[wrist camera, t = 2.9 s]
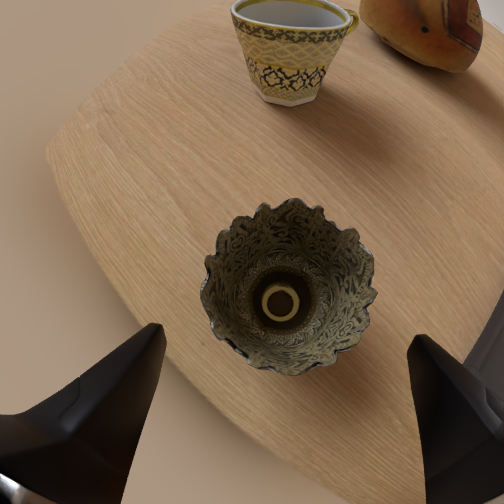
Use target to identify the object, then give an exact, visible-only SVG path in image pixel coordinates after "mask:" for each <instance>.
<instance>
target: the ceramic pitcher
mask: <svg viewBox="0 0 504 504" xmlns="http://www.w3.org/2000/svg"><path fill="white" fill-rule="evenodd" d="M359 13H360V18H361V20H362V21H363V22H364V23H365V24H366V25H367V26H368V27H369V28H370V29H371V30H373V31H374V32H375V33H377V34H378V35H379V37H380V38H381V40H382V41H383V42H385V43H387V44H388V45H389V46H391V47H393V48H394V49H396V50H397V51H399V52H400V53H402V54H404V55H405V56H407V57H409V58H411V59H413V60H414V61H416V62H418V63H421V64H423V65H426V66H431V67H437V68H440V69H443V70H446V71H449V72H453V73H459V72H463V71H465V70H466V69H467V68H469V66H470V65H471V64H472V63H473V61H474V60H475V58H476V56H477V54H478V52H479V50H480V47H481V42H482V36H483V22H482V17H481V12H480V8H479V5H478V2H477V0H361V1H360V8H359Z"/></svg>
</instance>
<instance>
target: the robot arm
mask: <svg viewBox="0 0 504 504" xmlns="http://www.w3.org/2000/svg"><path fill="white" fill-rule="evenodd" d="M166 345H167V341H166V337H165V333H164V329H163V326H162V325H161V324H158V323H149V324H148V325H147V326H145V327H144V328H143V329H141V330H140V331H139V332H138V333H136V334H135V335H133V336H132V337H131V338H129V339H128V340H127V341H125V342H124V343H123V344H121V345H120V346H119V347H117V348H116V349H115V350H114V351H112V352H111V353H109V354H108V355H107V356H106V357H104V358H103V359H102V360H100V361H99V362H98V363H96V364H95V365H94V366H92V367H91V368H90V369H88V370H87V371H86V372H84V373H83V374H82V375H81V376H80V377H78V378H76V379H75V380H74V381H73V382H71V383H70V384H68V385H67V386H65V387H64V388H63V389H61V390H60V391H58V392H57V393H55V394H54V395H52V396H50V397H49V398H47V399H46V400H44V401H42V402H41V403H39V404H37V405H36V406H34V407H32V408H30V409H29V410H27V411H25V412H22V413H20V414H15V415H0V504H121V500H122V497H123V493H124V489H125V486H126V482H127V478H128V475H129V471H130V468H131V465H132V461H133V458H134V455H135V451H136V448H137V445H138V442H139V439H140V435H141V432H142V429H143V426H144V423H145V420H146V417H147V414H148V411H149V408H150V405H151V402H152V399H153V396H154V393H155V390H156V387H157V384H158V380H159V376H160V372H161V367H162V363H163V358H164V354H165V350H166ZM407 360H408V367H409V374H410V383H411V390H412V395H413V400H414V405H415V410H416V416H417V421H418V427H419V433H420V440H421V447H422V455H423V464H424V474H425V481H426V482H425V490H426V504H504V402H503V401H502V400H501V399H500V398H499V397H497V396H496V395H495V394H494V393H493V392H492V391H491V390H490V389H489V388H488V387H486V386H485V385H484V384H483V383H482V382H481V381H480V380H479V379H478V378H476V377H475V376H474V375H473V374H472V373H471V372H470V371H469V370H467V369H466V368H465V367H464V366H463V365H462V364H461V363H459V362H458V361H457V360H456V359H455V358H454V357H452V356H451V355H450V354H449V353H448V352H447V351H445V350H444V349H443V348H442V347H441V346H440V345H438V344H437V343H436V342H435V341H434V340H432V339H431V338H430V337H429V336H428V335H426V334H418V335H416V336H415V337H414V339H413V341H412V343H411V344H410V346H409V348H408V351H407Z"/></svg>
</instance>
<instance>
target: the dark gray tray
mask: <svg viewBox="0 0 504 504" xmlns="http://www.w3.org/2000/svg"><path fill="white" fill-rule="evenodd" d="M462 365H463V366H464V367H465V368H466V369H467V370H469V371H470V372H471V373H472V374H473V375H474V376H475V377H476V378H478V379H479V380H480V381H481V382H482V383H483V384H484V385H485V386H486V387H488V388H489V389H490V390H491V391H492V392H493V393H494V394H495V395H496V396H497V397H499V398H500V399H501V400H502V401H503V402H504V291H503V293H502V295H501V297H500V299H499V301H498V303H497V306H496V308H495V310H494V312H493V314H492V315H491V317H490V319H489V321H488V323H487V325H486V327H485V329H484V330H483V332H482V334H481V336H480V337H479V339H478V341H477V342H476V344H475V346H474V347H473V349H472V350H471V352H470V354H469V355H468V357H467V358H466V360H465V361H464V363H463V364H462Z"/></svg>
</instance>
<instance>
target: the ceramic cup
mask: <svg viewBox="0 0 504 504" xmlns="http://www.w3.org/2000/svg"><path fill="white" fill-rule="evenodd" d="M230 11H231V15H232V20H233V23H234V27H235V30H236V33H237V36H238V39H239V42H240V44H241V46H242V49H243V53H244V57H245V60H246V63H247V67H248V70H249V73H250V77H251V81H252V84H253V87H254V89H255V91H256V92H257V93H258V94H259V95H260V96H261V97H262V99H263V100H264V101H266V102H270V103H275V104H279V105H284V106H288V107H293V106H296V105H300V104H303V103H307V102H311V101H313V100H314V99H315V97H316V95H317V93H318V90H319V87H320V85H321V83H322V81H323V78H324V76H325V74H326V72H327V69H328V67H329V65H330V63H331V61H332V59H333V58H334V56H335V55H336V53H337V51H338V50H339V48H340V46H341V44H342V41H343V39H344V37H345V36H347V35H348V34H350V33H351V32H352V31H353V30H354V29H355V28H356V27H357V25H358V23H359V18H358V15H357V14H356V13H355V12H354V11H351V10H348V9H342V8H341V7H339V6H337V5H336V4H333V3H331V2H329V1H326V0H238V1H236V2H235V3H234V4H233V5H232V6H231V9H230ZM350 16H353V23H352V24H351V26H350V27H349V25H350V23H351V17H350Z"/></svg>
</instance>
